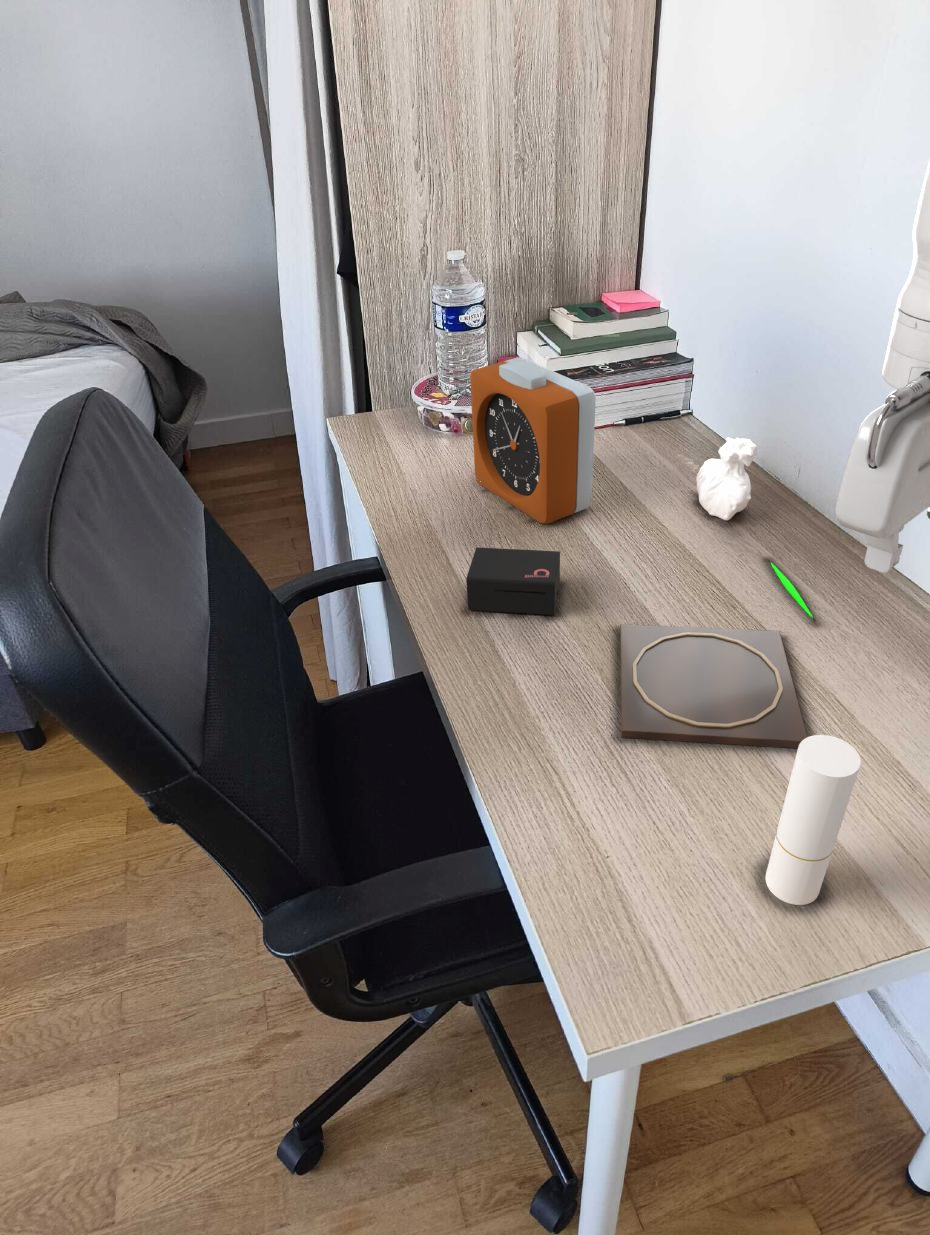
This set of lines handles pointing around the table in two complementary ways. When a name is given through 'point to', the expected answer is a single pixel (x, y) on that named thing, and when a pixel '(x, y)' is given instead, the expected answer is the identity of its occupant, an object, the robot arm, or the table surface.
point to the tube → (811, 817)
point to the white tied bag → (727, 479)
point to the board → (707, 686)
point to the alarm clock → (533, 438)
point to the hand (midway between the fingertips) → (912, 541)
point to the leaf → (791, 590)
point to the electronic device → (513, 580)
